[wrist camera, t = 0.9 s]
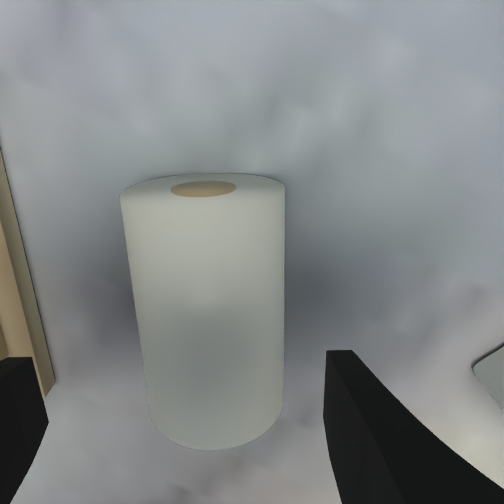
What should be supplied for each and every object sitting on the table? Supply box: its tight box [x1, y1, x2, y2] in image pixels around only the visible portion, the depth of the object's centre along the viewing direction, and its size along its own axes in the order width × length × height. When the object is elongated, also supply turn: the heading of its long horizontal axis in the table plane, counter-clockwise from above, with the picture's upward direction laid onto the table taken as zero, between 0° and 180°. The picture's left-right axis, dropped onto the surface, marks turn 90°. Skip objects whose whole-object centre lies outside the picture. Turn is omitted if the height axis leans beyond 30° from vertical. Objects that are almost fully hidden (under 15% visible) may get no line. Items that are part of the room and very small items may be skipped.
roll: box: [120, 173, 285, 450], centre depth 15 cm, size 8×5×5 cm, turn 1°
